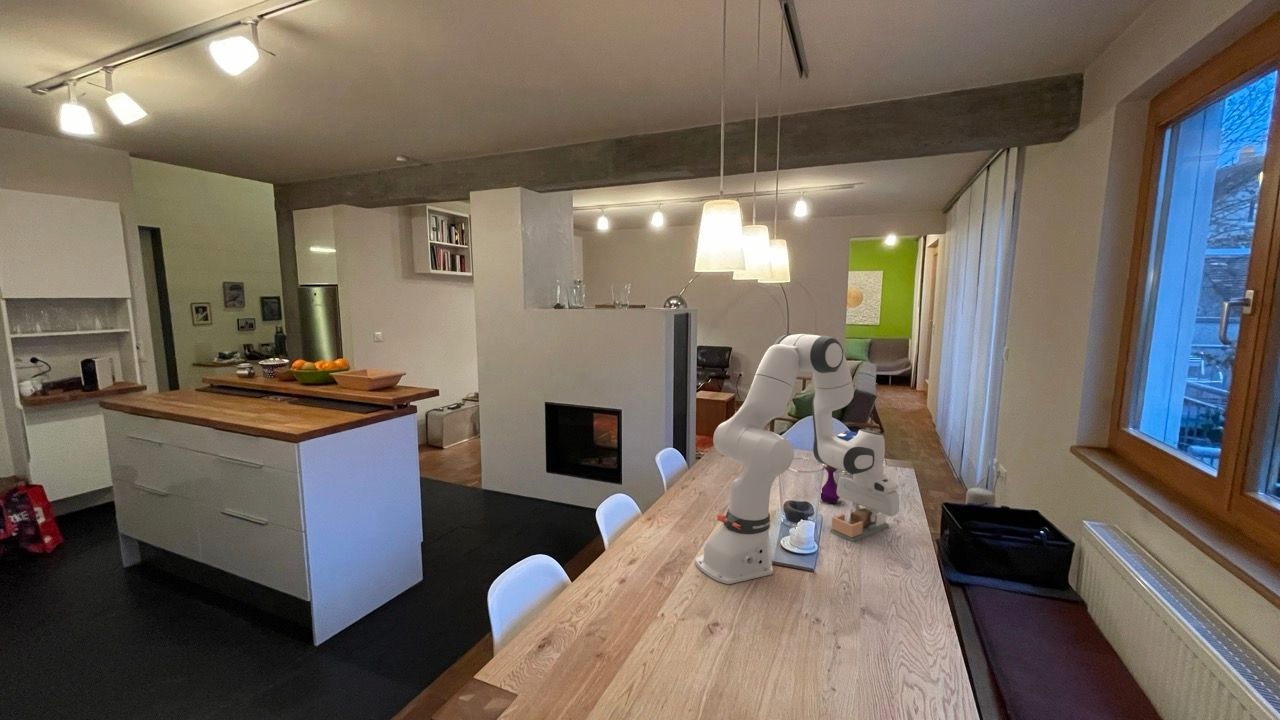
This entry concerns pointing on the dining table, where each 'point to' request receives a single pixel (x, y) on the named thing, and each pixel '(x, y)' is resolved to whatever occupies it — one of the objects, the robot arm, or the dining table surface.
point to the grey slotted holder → (867, 528)
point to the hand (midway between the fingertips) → (864, 518)
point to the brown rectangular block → (861, 516)
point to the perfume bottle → (830, 487)
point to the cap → (846, 526)
